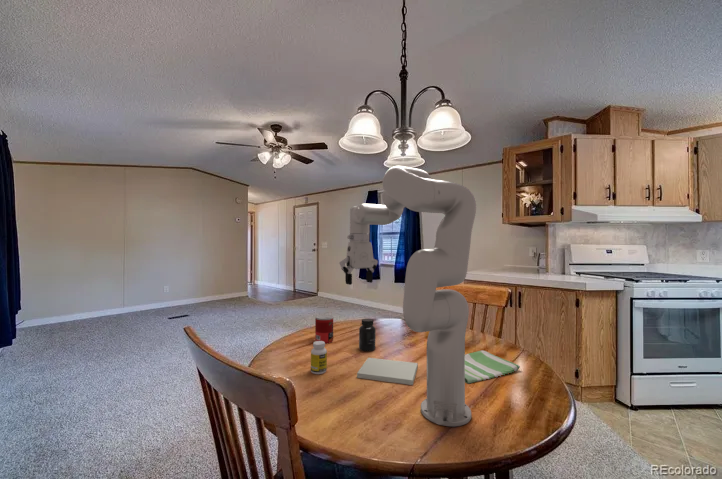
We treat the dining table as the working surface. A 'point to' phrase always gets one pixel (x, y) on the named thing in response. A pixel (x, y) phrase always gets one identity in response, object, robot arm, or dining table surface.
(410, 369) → the sage board
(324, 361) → the supplement bottle
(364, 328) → the supplement bottle
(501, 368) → the dish towel
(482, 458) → the dining table surface
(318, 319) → the canned food
